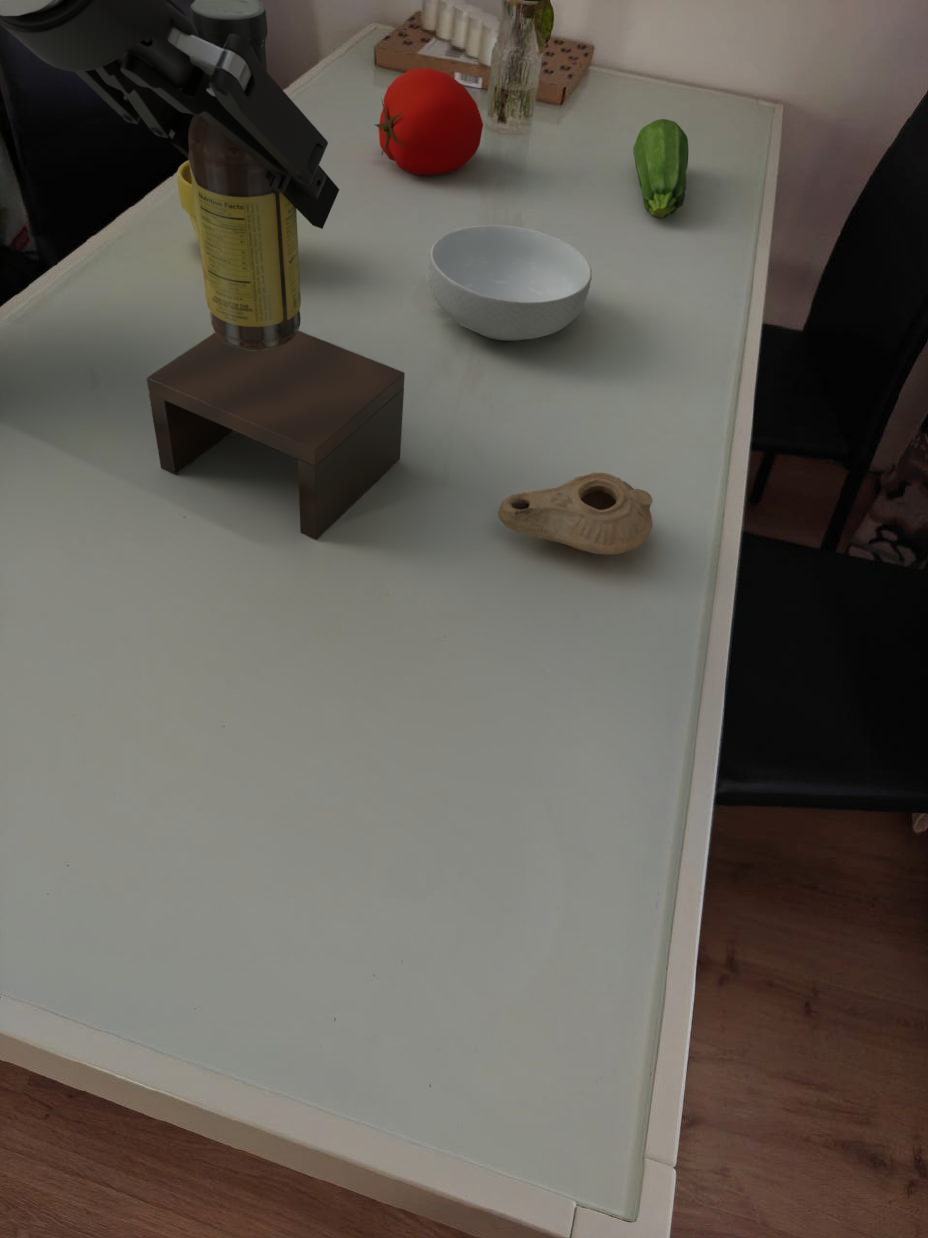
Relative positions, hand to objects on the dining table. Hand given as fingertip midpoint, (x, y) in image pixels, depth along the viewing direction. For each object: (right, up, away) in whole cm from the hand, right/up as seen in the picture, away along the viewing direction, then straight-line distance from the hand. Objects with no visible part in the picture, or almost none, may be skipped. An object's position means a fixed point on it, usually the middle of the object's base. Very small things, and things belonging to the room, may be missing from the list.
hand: (281, 190), depth 64 cm
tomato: (+7, +32, +68) cm, 75 cm away
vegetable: (+38, +29, +68) cm, 83 cm away
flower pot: (-14, +12, +46) cm, 49 cm away
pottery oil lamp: (+21, -21, +19) cm, 35 cm away
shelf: (-4, -14, +22) cm, 27 cm away
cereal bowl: (+16, +4, +42) cm, 45 cm away
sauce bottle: (-3, -8, +4) cm, 9 cm away
